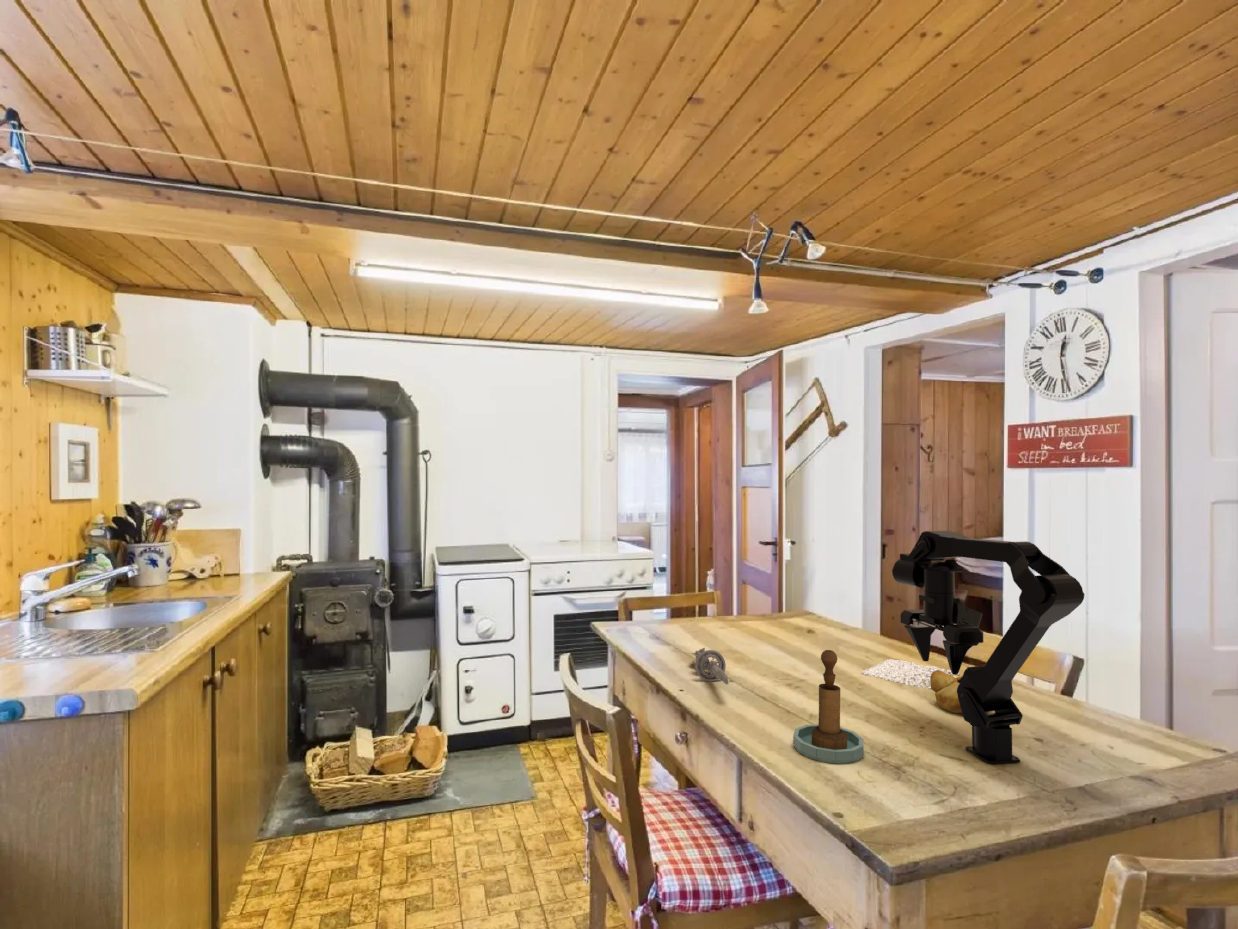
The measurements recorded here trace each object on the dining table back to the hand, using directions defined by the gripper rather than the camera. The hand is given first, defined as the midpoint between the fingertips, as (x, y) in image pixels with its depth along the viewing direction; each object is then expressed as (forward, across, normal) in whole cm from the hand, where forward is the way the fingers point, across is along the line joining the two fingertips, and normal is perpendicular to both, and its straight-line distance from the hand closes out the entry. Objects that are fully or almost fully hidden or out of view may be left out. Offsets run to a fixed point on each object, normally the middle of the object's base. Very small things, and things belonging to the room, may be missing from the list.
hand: (939, 667), depth 128 cm
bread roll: (+13, +11, -14) cm, 22 cm away
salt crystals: (+14, +36, -17) cm, 42 cm away
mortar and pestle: (+12, -5, +27) cm, 30 cm away
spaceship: (+13, +37, +38) cm, 55 cm away
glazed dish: (+13, -5, +27) cm, 30 cm away
